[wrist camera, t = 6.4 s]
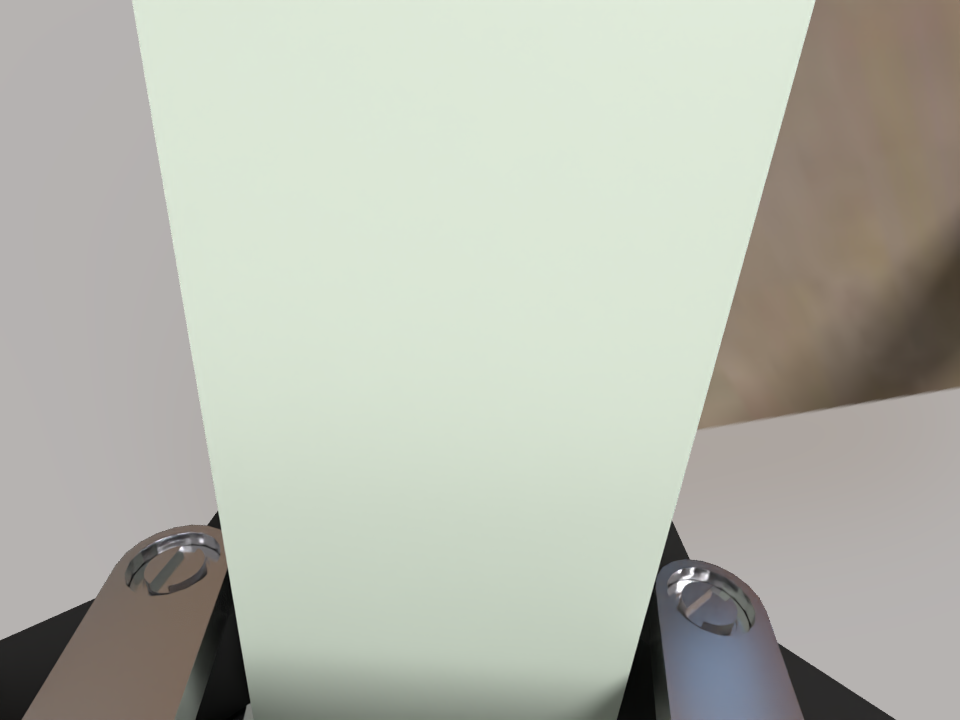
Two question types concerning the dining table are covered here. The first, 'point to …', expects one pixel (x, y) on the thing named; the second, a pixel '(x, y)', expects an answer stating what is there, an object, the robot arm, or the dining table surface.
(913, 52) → the dining table surface
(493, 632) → the pale green slab
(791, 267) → the dining table surface
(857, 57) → the dining table surface
